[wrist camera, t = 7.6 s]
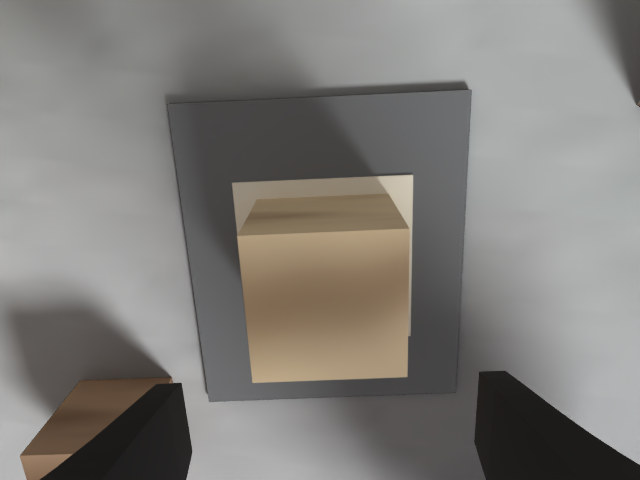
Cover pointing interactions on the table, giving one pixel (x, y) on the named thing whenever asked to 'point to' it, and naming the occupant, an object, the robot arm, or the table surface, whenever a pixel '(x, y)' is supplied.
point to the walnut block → (81, 420)
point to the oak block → (326, 288)
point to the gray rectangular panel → (325, 180)
